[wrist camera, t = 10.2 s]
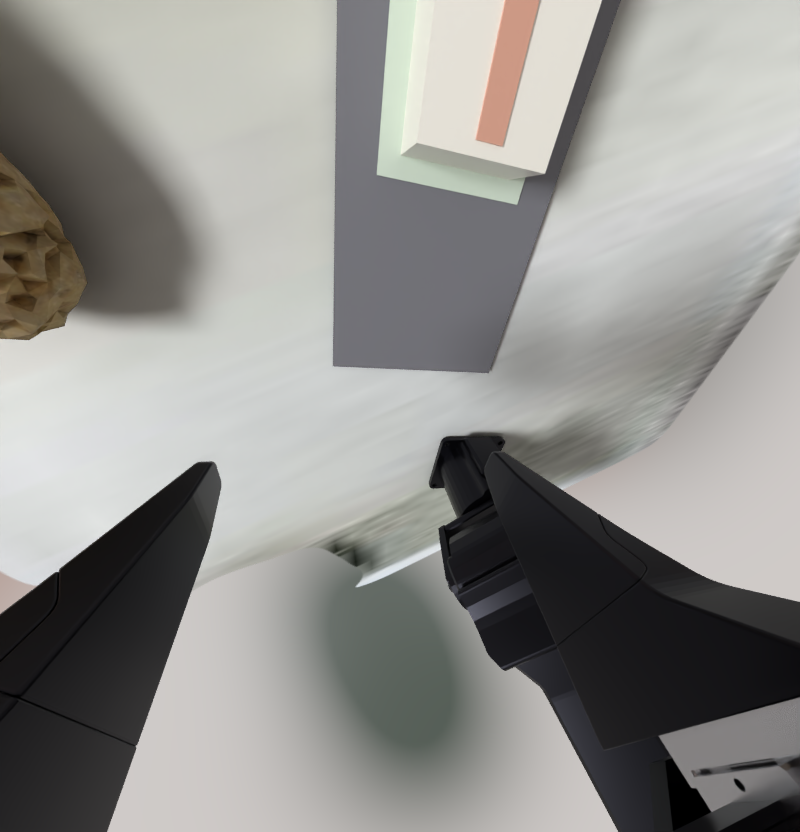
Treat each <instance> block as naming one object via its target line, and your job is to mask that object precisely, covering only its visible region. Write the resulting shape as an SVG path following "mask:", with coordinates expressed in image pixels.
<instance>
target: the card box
mask: <svg viewBox="0 0 800 832" xmlns="http://www.w3.org/2000/svg"><path fill="white" fill-rule="evenodd" d="M601 2H602V0H417V4H416V13H415V23H414V32H413V42H412V51H411V61H410V70H409V80H408V90H407V99H406V109H405V118H404V128H403V137H402V147H401V155H402V156H407V157H411V158H415V159H420V160H424V161H428V162H433V163H437V164H442V165H446V166H450V167H455V168H459V169H463V170H468V171H472V172H477V173H481V174H485V175H490V176H494V177H498V178H503V179H507V180H511V179H517V178H523V177H529V176H536V175H542V174H545V172H546V169H547V166H548V163H549V160H550V157H551V154H552V151H553V148H554V145H555V142H556V139H557V136H558V133H559V130H560V127H561V123H562V120H563V117H564V114H565V111H566V108H567V105H568V102H569V99H570V96H571V93H572V90H573V87H574V84H575V81H576V78H577V75H578V72H579V69H580V66H581V63H582V60H583V57H584V54H585V51H586V47H587V44H588V41H589V38H590V35H591V32H592V29H593V26H594V23H595V20H596V17H597V14H598V11H599V8H600V5H601Z"/></svg>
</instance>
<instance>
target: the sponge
mask: <svg viewBox="0 0 800 832" xmlns="http://www.w3.org/2000/svg"><path fill="white" fill-rule="evenodd" d="M86 285H87V279H86V276H85V273H84V270H83V267H82V265H81V263H80V261H79V259H78V256H77V254H76V252H75V250H74V248H73V246H72V244H71V242H70V241H68V240H67V239H66V238H65V237H64V233H63V229H62V225H61V223H60V221H59V220H58V218H57V217H56V215H55V214H54V212H53V211H52V210H51V208H50V206H49V204H48V203H47V202H46V201H45V200H44V199H43V198H42V197H41V196H40V195H39V193H38V192H37V191H36V190H35V188H34V187H33V186H32V185H31V183H30V182H29V181H28V180H27V179H26V178H25V177H24V175H23V174H22V173H21V172H20V171H19V170H18V169H17V168H16V167H15V166H13V164H12V163H11V162H10V161H9V160H8V159H7V158H6V157H5V156H4V155H3V154H2V153H1V152H0V339H18V340H30V339H32V338H33V337H35V336H36V335H38V334H39V333H41V332H42V331H47V330H51V329H55V328H59V327H62V326H65V322H66V319H67V315H68V313H69V312H70V311H71V310H72V309H73V308H74V307H75V306H76V305H77V304H78V302H79V300H80V297H81V294H82V292H83V290H84V288H85V287H86Z"/></svg>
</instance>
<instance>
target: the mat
mask: <svg viewBox="0 0 800 832" xmlns="http://www.w3.org/2000/svg"><path fill="white" fill-rule="evenodd" d="M620 1H621V0H602V2H601V5H600V8H599V11H598V14H597V17H596V20H595V23H594V26H593V29H592V32H591V35H590V38H589V41H588V44H587V47H586V51H585V54H584V57H583V60H582V63H581V66H580V69H579V72H578V75H577V78H576V81H575V84H574V87H573V90H572V93H571V96H570V99H569V102H568V105H567V108H566V111H565V114H564V117H563V120H562V123H561V127H560V130H559V133H558V136H557V139H556V142H555V145H554V148H553V151H552V154H551V157H550V160H549V163H548V166H547V169H546V172H545V174H542V175H536V176H529V177H523V178H517V179H511V180H507V179H503V178H498V177H494V176H490V175H485V174H481V173H477V172H472V171H468V170H463V169H459V168H455V167H450V166H446V165H442V164H437V163H433V162H428V161H424V160H420V159H415V158H411V157H407V156H402V155H401V147H402V137H403V128H404V118H405V109H406V99H407V90H408V80H409V70H410V61H411V51H412V42H413V32H414V23H415V13H416V4H417V0H337V63H336V151H335V239H334V327H333V366H340V367H363V368H385V369H408V370H431V371H454V372H477V373H489V371H490V368H491V365H492V362H493V359H494V356H495V354H496V351H497V348H498V345H499V342H500V339H501V337H502V334H503V331H504V328H505V325H506V323H507V320H508V317H509V314H510V311H511V308H512V306H513V303H514V300H515V297H516V294H517V292H518V289H519V286H520V283H521V280H522V277H523V275H524V272H525V269H526V266H527V263H528V261H529V258H530V255H531V252H532V249H533V246H534V244H535V241H536V238H537V235H538V232H539V229H540V227H541V224H542V221H543V218H544V215H545V213H546V210H547V207H548V204H549V201H550V198H551V196H552V193H553V190H554V187H555V184H556V182H557V179H558V176H559V173H560V170H561V167H562V165H563V162H564V159H565V156H566V153H567V150H568V148H569V145H570V142H571V139H572V136H573V134H574V131H575V128H576V125H577V122H578V119H579V117H580V114H581V111H582V108H583V105H584V103H585V100H586V97H587V94H588V91H589V88H590V86H591V83H592V80H593V77H594V74H595V72H596V69H597V66H598V63H599V60H600V57H601V55H602V52H603V49H604V46H605V43H606V40H607V38H608V35H609V32H610V29H611V26H612V24H613V21H614V18H615V15H616V12H617V9H618V7H619V4H620Z"/></svg>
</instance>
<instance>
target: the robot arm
mask: <svg viewBox="0 0 800 832" xmlns="http://www.w3.org/2000/svg"><path fill="white" fill-rule="evenodd" d="M447 442H448V443H447ZM445 443H447V444H445ZM504 444H505V440H504V439H503V438H502V437H449V438H444V439H442V441H441V443H440V446H439V450H438V453H437V457H436V460H435V463H434V467H433V470H432V474H431V477H430V480H429V486H430V488H433V489H434V488H445V490H446V492H447V495H448V497H449V499H450V502H451V504H452V507H453V509H454V511H455V514H456V516H457V519H455V520H454V521H452V522H450V523H449V524H447V525H443V526H441V527H440V528H438V529H439V536H440V545H441V551H442V557H443V563H444V570H445V576H446V580H447V582H448V586H449V589H450V590H451V592H453V593H454V594H455V596H456V598H457V599H458V601H459V602H460V603H461V605H462V606H463V607H464V608H465V609H466V610H468V611H469V613H470V615H471V617H472V619H473V621H474V623H475V625H476V627H477V629H478V632H479V634H480V637H481V639H482V641H483V643H484V646H485V648H486V651H487V653H488V655H489V656H490V657H491V658H492V659H493V660H494V661H495V662H496V663H497V665H499V667H500V668H501V669H503V670H505V671H506V670H509V669H511V668H513V667H516V668H517V669H518V670H520V671H521V672H522V673H523V674H525V675H526V676H527V677H529V678H530V679H531V680H532V681H533V682H535V683H536V684H537V685H539V686H540V687H541V689H542V690H543V692H544V693H545V695H546V697H547V699H548V700H549V702H550V704H551V706H552V708H553V710H554V712H555V713H556V715H557V717H558V719H559V721H560V723H561V725H562V727H563V729H564V730H565V732H566V734H567V736H568V738H569V740H570V741H571V744H572V746H573V747H574V749H575V751H576V753H577V755H578V756H579V759H580V761H581V762H582V764H583V766H584V768H585V770H586V772H587V774H588V776H589V777H590V779H591V781H592V783H593V785H594V787H595V789H596V791H597V792H598V794H599V796H600V798H601V800H602V802H603V804H604V806H605V807H606V809H607V811H608V813H609V815H610V817H611V819H612V821H613V823H614V824H615V826H616V828H617V830H618V832H800V602H797V601H793V600H788V599H784V598H780V597H776V596H771V595H767V594H762V593H758V592H753V591H750V590H745V589H741V588H736V587H732V586H728V585H725V584H722V583H718V582H716V581H713V580H710V579H708V578H706V577H704V576H702V575H700V574H698V573H696V572H694V571H692V570H691V569H689V568H687V567H685V566H684V565H682V564H680V563H679V562H677V561H675V560H673V559H672V558H670V557H668V556H667V555H665V554H663V553H661V552H659V551H658V550H656V549H655V548H653V547H651V546H649V545H648V544H646V543H644V542H643V541H641V540H639V539H638V538H636V537H634V536H633V535H631V534H629V533H628V532H626V531H624V530H623V529H621V528H620V527H618V526H617V525H615V524H613V523H612V522H610V521H609V520H607V519H606V518H604V517H603V516H601V515H600V514H597V513H596V512H595V511H593V510H592V509H590V508H589V507H587V506H586V505H584V504H583V503H581V502H580V501H578V500H577V499H575V498H574V497H572V496H570V495H569V494H567V493H566V492H564V491H563V490H561V489H560V488H558V487H557V486H555V485H554V484H552V483H551V482H549V481H547V480H546V479H544V478H543V477H541V476H540V475H538V474H537V473H535V472H534V471H532V470H531V469H529V468H528V467H526V466H525V465H523V464H521V463H520V462H518V461H517V460H515V459H514V458H512V457H511V456H509V455H508V454H506V453H505V452H501V450H502V448H503V446H504ZM220 491H221V479H220V476H219V473H218V469H217V466H216V464H215V463H214V462H212V461H209V462H197V463H196V464H194V465H193V466H192V467H190V468H189V469H188V470H186V471H185V472H184V473H183V474H181V475H180V476H179V477H177V478H176V479H175V480H174V481H172V482H171V483H170V484H168V485H167V486H166V487H164V488H163V489H162V490H161V491H159V492H158V493H157V494H155V495H154V496H153V497H152V498H150V499H149V500H148V501H146V502H145V503H144V504H143V505H141V506H140V507H139V508H137V509H136V510H135V511H134V512H132V513H131V514H130V515H128V516H127V517H126V518H125V519H123V520H122V521H121V522H119V523H118V524H117V525H115V526H114V527H113V528H112V529H110V530H109V531H108V532H106V533H105V534H104V535H103V536H101V537H100V538H99V539H97V540H96V541H95V542H94V543H92V544H91V545H90V546H88V547H87V548H86V549H85V550H83V551H82V552H81V553H79V554H78V555H77V556H76V557H74V558H73V559H72V560H70V561H69V562H68V563H66V564H65V565H64V566H63V567H61V568H60V569H59V572H55V573H53V574H52V575H51V576H50V577H48V578H47V579H46V580H44V581H43V582H42V583H40V584H39V585H38V586H37V587H35V588H34V589H33V590H31V591H30V592H29V593H27V594H26V595H25V596H23V597H22V598H21V599H19V600H18V601H17V602H15V603H14V604H13V605H12V606H10V607H9V608H7V609H6V610H5V611H4V612H2V613H1V614H0V832H107V830H108V827H109V825H110V821H111V819H112V816H113V813H114V810H115V808H116V804H117V801H118V799H119V796H120V793H121V790H122V788H123V785H124V782H125V779H126V776H127V773H128V770H129V767H130V765H131V762H132V759H133V756H134V753H135V751H136V745H137V744H138V742H139V738H140V736H141V733H142V730H143V727H144V724H145V722H146V719H147V716H148V713H149V710H150V707H151V705H152V702H153V699H154V696H155V693H156V690H157V687H158V685H159V682H160V679H161V676H162V673H163V670H164V668H165V665H166V662H167V659H168V656H169V653H170V650H171V648H172V645H173V642H174V639H175V636H176V634H177V631H178V628H179V625H180V622H181V619H182V616H183V614H184V611H185V608H186V605H187V602H188V599H189V597H190V594H191V591H192V588H193V585H194V582H195V580H196V577H197V574H198V571H199V568H200V565H201V562H202V560H203V557H204V554H205V551H206V548H207V545H208V542H209V539H210V535H211V531H212V527H213V522H214V518H215V513H216V509H217V504H218V500H219V495H220Z"/></svg>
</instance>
